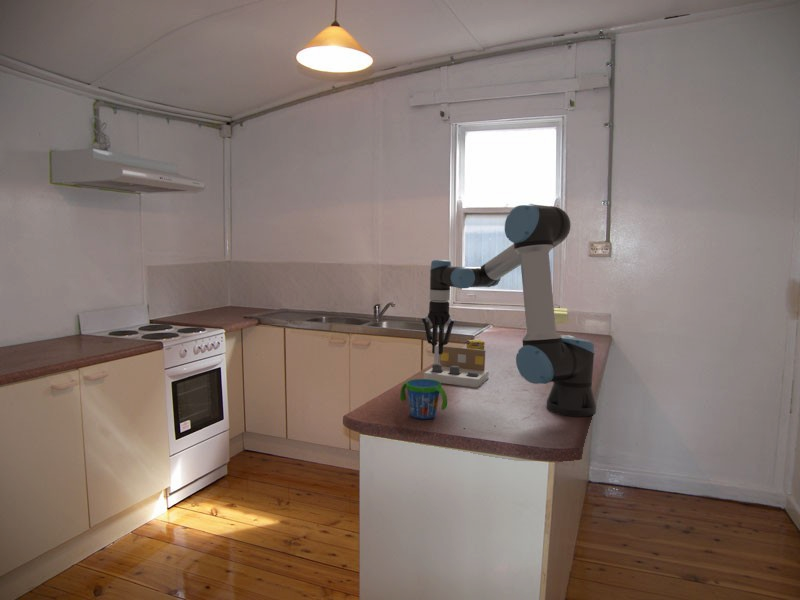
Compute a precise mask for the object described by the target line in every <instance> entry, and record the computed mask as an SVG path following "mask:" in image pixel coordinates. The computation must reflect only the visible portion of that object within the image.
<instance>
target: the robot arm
mask: <svg viewBox="0 0 800 600" xmlns="http://www.w3.org/2000/svg"><path fill="white" fill-rule="evenodd" d="M571 224H572V223H571V219H570V217H569V214H568V213H566V211H565V210H563V209H562V208H560V207H558V206H553V205H551V206H549V205H543V204H542V205H539V204H534V203H528V204H526V203H525V204H523V203H522V204H519V205H516V206H515V207H513V208H512V209H511V210H510V211H509V214H508V215H507V216H506V218H505V221H504V234H505V236H506V238H507V239H508V240H509V241H510V242H511V243H512V245H510V246H508V247H507V248H505V249H504V250H503V251H501V252H499V254H497V255H496V256H494V257H492V258H491V259H489V260H488V261H487V262H486V263H484V264H482V265H481V266H453V265H452V263H451V262H452V261H451V260H447V259H433V260H432V261H431V263H430V269H429V270H430V271H429V273H430V274H429V275H430V279H429V282H430V283H429V300H430V301H429V304H428V305H429V306H428V308H429V309H428V313H427V316H425V317H423V318H422V319H421V321H422V323H423V325H424V328H425V329H424V330H425V336H426V340H427V343H428V344H430V345H432V346H431V347H432V348H431V351H432V353H431V354H434V355H433V361H434V362H433V364H440V354H442V353H443V346H446V345H448V344H449V341H450V337H451V334H452V331H453V327H454V325H455V323H456V319H453V318H452V317H451V315H450V302H449V301H450V295H451V294H450V292H451V288H458V289H469V288H491V287H495V286H497V285H499V283H500V281H501V279H502V278H503V277H504V276H506V275H507V274H509V273H510V272H512V271H514V270H516V269H517V268H519V267H520V270H521V272H520V273H521V281H522V282H521V283H522V294H523V304H524V316H525V318H524V319H525V327H526V334H525V335H524V337H523V338H522V339H521V341H522V347H520V348H519V349H518V351H517V352H516V355H515V356H516V358H515V364H516V367H517V370H518V372H519V374H520V375H521V376H522V378H524V380H525V381H526V382H529V383H530V384H533V385H534V384H535V385H538V384H539V385H540V384H545V385H546V384H548V383H552V382H553V383H552V387H551V389H550V392H549V394H548V396H547V399H546V409H547V410H548V411H550V412H552V413H555V414H558V413H559V414H558V415H562V414H564V415H563V416H567V415H570V416H569V417H578V416H583V417H590V416H591V417H592V416H594V415H596V414H597V403H596V399H595V396H594V391H593V387H592V386H593V385H592V383H593V372H594V371H593V370H594V361H595V360H594V358H595V344H594V343H593V341H591V340H588V339H582V338H577V337H576V338H571V337H563V336H564V335H560V334H559V333H558V332H557V329H556V327H557V326H556V323H555V316H554V308H555V306H554V299H553V298H554V295H553V285H552V276H551V275H552V274H551V266H550V265H551V264H550V263H551V261H550V255H549V254H550V251H551V250H552V249H554V248H555V247H557V246H558V245H560V244H561V243H562V242H564V240H566V239H567V238H568V236H569V234H570V230H571ZM430 322H431V324H432V330H431V325H430ZM447 323H448V325H447V329H446V331H445V325H446V324H447Z"/></svg>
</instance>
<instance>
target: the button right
mask: <svg viewBox="0 0 800 600" xmlns="http://www.w3.org/2000/svg"><path fill="white" fill-rule="evenodd" d="M468 376H469V377H477V376H478V373H477V372H468Z"/></svg>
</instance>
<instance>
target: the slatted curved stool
mask: <svg viewBox="0 0 800 600" xmlns="http://www.w3.org/2000/svg"><path fill="white" fill-rule="evenodd" d="M568 315H569V314H568V308H565V307H564V308H561V307H554V316H555V324H568V317H569V316H568Z"/></svg>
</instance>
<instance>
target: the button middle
mask: <svg viewBox="0 0 800 600" xmlns="http://www.w3.org/2000/svg"><path fill="white" fill-rule="evenodd" d="M459 370H460V367H459V366H450V374H453V375H459Z"/></svg>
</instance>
